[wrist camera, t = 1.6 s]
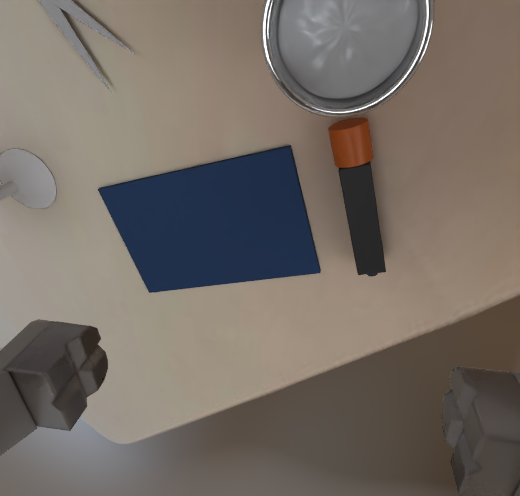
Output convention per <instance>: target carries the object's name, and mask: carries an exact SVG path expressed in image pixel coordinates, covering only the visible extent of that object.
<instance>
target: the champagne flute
mask: <svg viewBox="0 0 520 496" xmlns="http://www.w3.org/2000/svg"><path fill="white" fill-rule="evenodd" d="M0 180H1V182H2V184H3V185H1V186H0V200H2V199H4V198H6V197H8V196H10V195H11V196H12V197H13V198H15V199H16V200H17V201H18V202H20V203H21V204H23V205H25V206H27V207H31V208H35V209H43V208H46V207H48V206H50V205H51V204H52V203H53V202H54V200H55V197H56V184H55V181H54V178H53V176H52V174H51V172H50V171H49V169H48V168H47V166H46V165H45V164H44V163H43V162H42V161H41V160H40V159H39V158H38V157H36V156H35V155H33V154H32V153H30V152H28V151H25V150H22V149H16V148H13V149H8V150H6V151H4V152H3V153H2V154H1V155H0Z"/></svg>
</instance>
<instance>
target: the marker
mask: <svg viewBox="0 0 520 496" xmlns="http://www.w3.org/2000/svg"><path fill="white" fill-rule="evenodd" d="M329 135H330V140H331V145H332V151H333V156H334V161H335V165H336V166H337V167H339V176H340V181H341V186H342V192H343V197H344V202H345V208H346V213H347V218H348V224H349V229H350V235H351V240H352V245H353V251H354V256H355V261H356V267H357V272H358V275H363V274H367V275H368V276H376V275H377V274H378V273H381V272H386V269H385V262H384V254H383V247H382V240H381V234H380V227H379V220H378V213H377V206H376V199H375V192H374V186H373V179H372V172H371V165H370V161H371V160H372V159H373V152H372V145H371V137H370V130H369V123H368V119H367V118H353V119H348V120H344V121H341V122H338V123H336V124H333V125H332V126H330V127H329Z"/></svg>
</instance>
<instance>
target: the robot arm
mask: <svg viewBox="0 0 520 496" xmlns="http://www.w3.org/2000/svg"><path fill="white" fill-rule="evenodd" d="M100 339H101V337H100V335H99V332H98V329H97V328H95V327H92V326H86V325H79V324H71V323H64V322H57V321H56V322H54V321H47V320H40V319H38V320H36V321H33V322H31V323H30V324H28V325H27V326H26V327H25V328H24V329H23V330H22V331H21V332H20V333H19V334H18V335H17V336H16V337H15V338H13V339H12V340H11V341H10V342H9V343H8V344H7V345H6V346H5V347H4V348H3V349H2V350H1V351H0V455H2V454H3V453H5V452H6V451H7V450H9V449H10V448H11V447H13V446H14V445H15V444H17V443H18V442H19V441H21V440H22V439H23V438H25V437H26V436H28V435H29V434H30V433H32V432H33V431H34V430H36V429H37V426H39V427H46V428H53V429H61V430H68V431H70V430H71V429H72V427H73V426H74V424H75V423H76V422H77V420H78V419H79V417H80V416H81V414H82V413H83V411H84V410H85V408H86V407H87V397H88V396H90V395H91V394H93V393H94V392H96V391H98V389H99V388H100V386H101V384H102V383H103V381H104V379H105V376H106V373H107V369H108V359H107V356H106V352H105V351H104V350H103V349H102V348H101V347H100V346H99V345H98V343H99V341H100ZM449 380H450V383H451V387H452V389H451V390H450V391H448V392H447V393H445V395H444V399H443V403H442V414H441V419H442V428H443V432H444V437H445V441H446V442H447V443H448V444H449V445H450V446H451V447H452V448H453V449H454V453H453V455H452V459H451V466H452V469H453V474H454V478H455V482H456V485H457V490H458V493H459V496H520V373H519V372H507V371H498V370H489V369H479V368H468V367H459V366H455V367H454V369H453V370H452V372H451V375H450V378H449Z"/></svg>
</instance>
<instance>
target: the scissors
mask: <svg viewBox="0 0 520 496" xmlns="http://www.w3.org/2000/svg"><path fill="white" fill-rule="evenodd" d="M39 2H40V3H41V4H42V6H43V7H44V9H45V10H46V11H47V13H48V14H49V15H50V17H51V18H52V19H53V21H54V22H55V23H56V25H57V26H58V27H59V28H60V30H61V31H62V32H63V34H64V35H65V36H66V37H67V39H68V40H69V41H70V42H71V44H72V45H73V46H74V47H75V49H76V50H77V51H78V52H79V53H80V55H81V56H82V57H83V58H84V60H85V61H86V62H87V63H88V65H89V66H90V67H91V69H92V70H93V71H94V72H95V74H96V75H97V76H98V77H99V78H100V80H101V81H102V82H103V83H104V84H105V85H106V86H107V88H108V89H109V90H110V88H109V87H108V85H107V83H106V82H105V80H104V78H103V77H102V75H101V74H100V72H99V70H98V69H97V67H96V66H95V64H94V62H93V61H92V59H91V57H90V56H89V54H88V53H87V51H86V49H85V48H84V46H83V45H82V43H81V42H80V40H79V39H78V37H77V36H76V34H75V33H74V31H73V29H72V28H71V26H70V24H69V23H68V21H67V19H66V18H65V16H64V14H63V13H62V11H61V10H60V9H59V8H61V9H63V10H64V11H66V12H67V13H69V14H70V15H72V16H73V17H75V18H77V19H78V20H80V21H81V22H83V23H84V24H86V25H88V26H89V27H91V28H93V29H94V30H96V31H98V32H99V33H101V34H102V35H104V36H106V37H107V38H109V39H111V40H112V41H114V42H116V43H117V44H119V45H120V46H122V47H124V48H125V49H127V50H129V49H128V48H127V47H126V46H125V45H124V44H123V43H121V42H120V41H119V40H118V39H117V38H116V37H114V36H113V35H112V34H111V33H110V32H109V31H107V30H106V29H105V28H104V27H103V26H102V25H100V24H99V23H98V22H97V21H96V20H95V19H93V18H92V17H91V16H90V15H89V14H88V13H86V12H85V11H84V10H83V9H82V8H81V7H79V6H78V5H77V4H76V3H75V2H73V1H72V0H39ZM129 51H130V52H132V51H131V50H129ZM132 53H133V52H132ZM110 91H111V90H110ZM111 92H112V91H111Z"/></svg>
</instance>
